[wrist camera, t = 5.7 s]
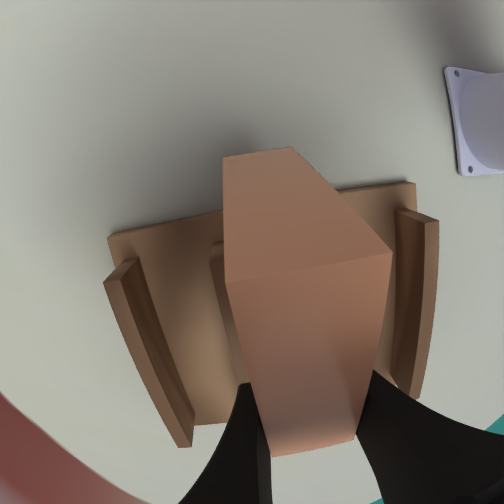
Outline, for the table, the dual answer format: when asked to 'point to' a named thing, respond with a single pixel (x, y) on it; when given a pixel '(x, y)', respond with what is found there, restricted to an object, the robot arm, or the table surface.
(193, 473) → the table surface
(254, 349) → the orange-brown angular block
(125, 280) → the dish rack
